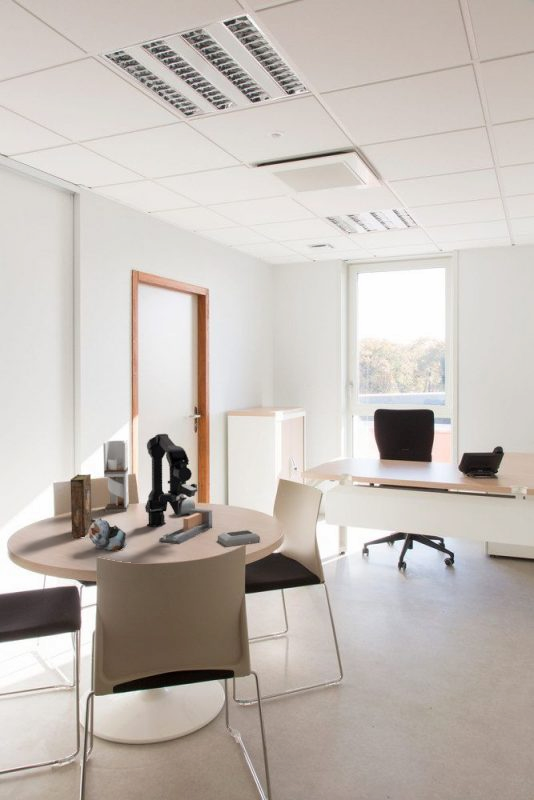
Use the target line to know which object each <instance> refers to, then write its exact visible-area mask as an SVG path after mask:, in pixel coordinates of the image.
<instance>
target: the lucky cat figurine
mask: <svg viewBox="0 0 534 800" xmlns="http://www.w3.org/2000/svg"><path fill="white" fill-rule="evenodd" d="M88 535H89V540H90V541H91V542H92V544H94V545H95V547H96V549H103V550H104V549H105V550H108V551H113V552H118V551H121V549H123V548H124V549H125V547H126V546H127V541H126V536H127V534H126V532H124V531H123V530H122V529H121V528H120V527H118V526H117V525H113V526H111V525H110V523H109V522H108V521H107V520H103V519H102V518H97V520H95V519H91V526H90V529H89V533H88ZM117 550H118V551H117Z"/></svg>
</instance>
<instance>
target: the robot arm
mask: <svg viewBox="0 0 534 800" xmlns="http://www.w3.org/2000/svg"><path fill="white" fill-rule="evenodd" d="M146 448H147V449H146V450H147V453H148V454H149V456H150V458H151V491H149V494H148V496H147V497H148V498H147V499H148V500H146V501H147V502H146V504H145V506H144V507H145V512H146V513H147V514H148V523H146V526H147V527H161V526H163V525H166V524H167V523H166V522H165V521H166V520H165V513H164V512H167V508H168V503H169V505H170V506H171V508H172V511H173V512H174V514H175V516H180V515H179V512H180V509H181V505H182V502H183V501H184V500H185V499H188V498H192V497H195V496H196V495H195V494H196V493H197V492H198V485H197V484H196V483H191V484H187V482H188V481H189V480H190V479H191V478H192V473H193V472H192V471H191V469H190V468H188V465H189V461H190V460H189V457H188V455H187V452H186V450H185V449H184V448H183V447H181V446H178V445H176V444H175V443H174V442H173V441H172V440H171V438H170V436H169V434H167V433H157V434H155V436H153V437H152V438H149V440H148V441H147V443H146ZM165 456H166V460H167V463H168V467H169V480H167V484H168V485H169V490H167V492H164V491H163V458H164V457H165Z"/></svg>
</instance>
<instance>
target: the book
mask: <svg viewBox="0 0 534 800" xmlns="http://www.w3.org/2000/svg"><path fill="white" fill-rule="evenodd" d="M91 479H92V478H91V473H90V474H76V475H75V476H74V477H72V478H70V506H71V507H70V510H71V515H70V516H71V538H72V537H73V538H72V539H81V538H80V537H85V536H86V535H87V536H88V535H89V529H90V526H91V519H92V517H93V516H92V480H91ZM87 536H86V537H87ZM86 537H85V538H86Z"/></svg>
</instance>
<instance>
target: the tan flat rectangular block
mask: <svg viewBox="0 0 534 800" xmlns="http://www.w3.org/2000/svg"><path fill="white" fill-rule="evenodd" d="M182 521H183V522H182V523H183V526H182V527H183V528H184V532H185V531H187V530H189V529H191V528H193V527H196V526H198V525H200V524H202V513H195V514H193V515H191V516H189V515H188V516H186V517H184V518H183V519H182Z"/></svg>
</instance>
